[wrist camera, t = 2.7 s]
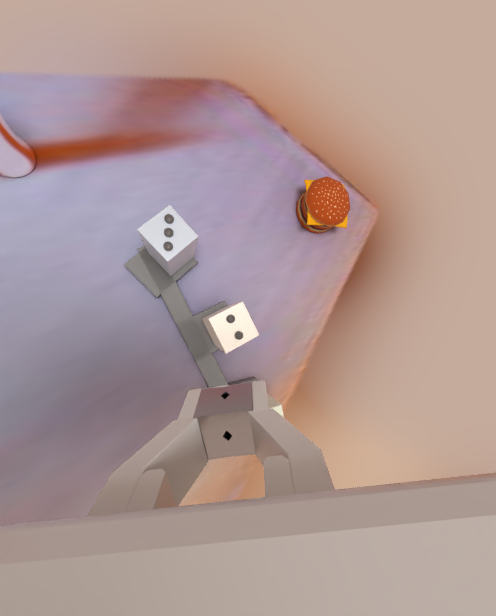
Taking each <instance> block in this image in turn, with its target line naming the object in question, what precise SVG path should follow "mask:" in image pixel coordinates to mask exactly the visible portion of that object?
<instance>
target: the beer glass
mask: <svg viewBox="0 0 496 616" xmlns="http://www.w3.org/2000/svg"><path fill="white" fill-rule="evenodd" d="M35 164H36V156H35V154H34V152H33V150H32V148H31V147H30V146H29V145H28V144H27V143H26V142H25V141H23V140H22V139H21V138H20V137H18V136H17V135H16V134H15V133H14V132H13V131H12V130H11V129H10V128H9V126H8V125H7V123H6V122H5V120H4V119H3V117H2V115H1V114H0V175H3V176H6V177H12V178H17V177H22V176H25V175H27V174H29V173H30V172H31V171H32V170H33V169H34V167H35Z"/></svg>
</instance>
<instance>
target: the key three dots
mask: <svg viewBox="0 0 496 616" xmlns="http://www.w3.org/2000/svg"><path fill="white" fill-rule="evenodd" d="M137 230H138V232H139V234H140V237H141V239H142V241H143V243H144V245H145V247H146V249H147V251H148V253H149V254H150V255H151V256H152V257H153V258H154V259H155V260H156V261H157V262H158V263H159V264H160V265H161V266H162V268H163V269H164V270H165V271H166V272H167V273H168V274H169V275H170V276H172V275H173V274H175V273H176V272H177V271H178V270H179V269H180V268H182V267H183V266H184V265H185V264H186V263H187V262H189V261H190V260H191V259H192V258H193V257H194V254H195V250H196V245H197V240H198V236H197V234H196V233H195V232H194V231H193V230H192V229H191V228H190V227H189V226H188V225H187V223H186V222H185V221H184V220H183V219H182V218H181V217H180V216H179V215H178V213H177V212H176V211H175V210H174V209H173V208H172V207H171V206H170V205H169V206H168V207H166V208H165V209H164V210H162V211H161V212H160V213H158V214H157V215H156V216H154V217H153V218H152V219H150V220H149V221H148V222H146V223H145V224H144V225H142V226H141V227H140V228H138V229H137Z"/></svg>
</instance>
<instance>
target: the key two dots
mask: <svg viewBox="0 0 496 616" xmlns="http://www.w3.org/2000/svg"><path fill="white" fill-rule="evenodd" d="M202 321H203V323H204V325H205V327H206V329H207V331H208V333H209V334H210V336H211V338H212V340H213V342H214V344H215V346H217V347H218V348H219V349H221V350H222V351H223V352H225V353H228V352H230V351H232V350H234V349H235V348H237V347H239V346H241V345H242V344H244V343H246V342H248V341H250V340H251V339H253V338H255V337H257V336H258V335H259V334H258V332H257V330H256V328H255V326H254V324H253V322H252V320H251V317H250V315H249V313H248V311H247V309H246V307H245V305H244V303H243V302H239V303H236V304H232V305H229V306H226V307H224V308H222V309H220V310H218V311H216V312H214V313H212V314H210V315H208V316H206V317H204V318H202Z"/></svg>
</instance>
